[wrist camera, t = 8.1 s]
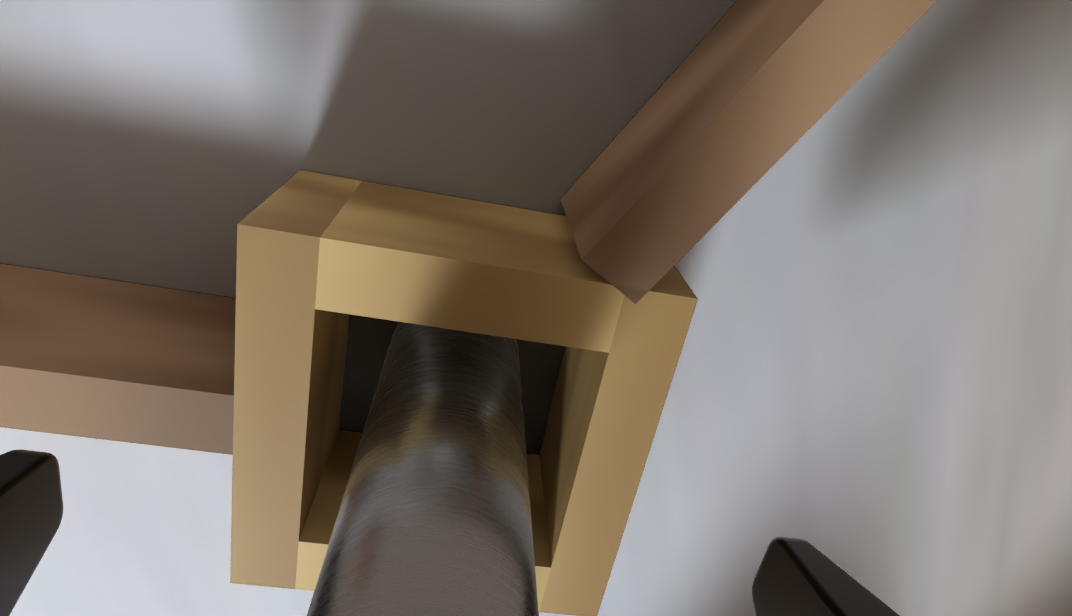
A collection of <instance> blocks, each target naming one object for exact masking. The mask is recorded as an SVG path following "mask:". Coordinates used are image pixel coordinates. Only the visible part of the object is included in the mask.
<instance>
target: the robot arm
mask: <svg viewBox="0 0 1072 616" xmlns="http://www.w3.org/2000/svg"><path fill="white" fill-rule="evenodd" d="M62 515H63V500H62V491H61V481H60V472H59V464H58V460H57V459H56V457H55V456H54V455H52V454H50V453H46V452H37V451H28V450H12V451H10V452H7V453H4V454H2V455H0V616H9V615H10V613H11V612H12V610H13V608H14V606H15V604H16V603H17V601H18V599H19V597H20V596H21V594H22V592H23V590H24V588H25V587H26V585H27V583H28V581H29V580H30V578H31V576H32V574H33V573H34V571H35V569H36V567H37V565H38V564H39V562H40V560H41V558H42V557H43V555H44V553H45V551H46V549H47V548H48V546H49V544H50V542H51V541H52V539H53V537H54V535H55V533H56V532H57V530H58V528H59V525H60V523H61V519H62ZM752 598H753V604H754V608H755V613H756V616H899V615H898V614H897V613H896V612H894V611H893V610H892V609H891V608H890V607H888V606H887V605H886V604H885V603H883V602H882V601H881V600H880V599H878V598H877V597H876V596H875V595H873V594H872V593H871V592H870V591H868V590H867V589H866V588H865V587H863V586H862V585H861V584H860V583H858V582H857V581H856V580H855V579H853V578H852V577H851V576H850V575H848V574H847V573H846V572H845V571H843V570H842V569H841V568H840V567H838V566H837V565H836V564H835V563H833V562H832V561H831V560H830V559H828V558H827V557H826V556H825V555H823V554H822V553H821V552H820V551H818V550H817V549H816V548H815V547H813V546H812V545H811V544H810V543H808V542H807V541H805V540H802V539H794V538H786V537H777V538H775V539H773V540H772V541H771V542H770V544H769V546H768V548H767V551H766V553H765V555H764V558H763V560H762V562H761V565H760V567H759V569H758V572H757V574H756V576H755V578H754V582H753V586H752Z"/></svg>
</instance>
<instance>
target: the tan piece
mask: <svg viewBox="0 0 1072 616" xmlns="http://www.w3.org/2000/svg"><path fill="white" fill-rule="evenodd" d="M936 1H937V0H738V1H737V2H736V3H735V4H734V5H733V6H732V7H731V8H730V10H729V11H728V12H727V13H726V14H725V15H724V16H723V17H722V19H721V20H720V21H719V22H718V23H717V24H716V25H715V26H714V27H713V29H712V30H711V31H710V32H709V33H708V34H707V35H706V36H705V38H704V39H703V40H702V41H701V42H700V43H699V44H698V45H697V47H696V48H695V49H694V50H693V51H692V52H691V53H690V54H689V56H688V57H687V58H686V59H685V60H684V61H683V62H682V63H681V64H680V66H679V67H678V68H677V69H676V70H675V71H674V72H673V73H672V75H671V76H670V77H669V78H668V79H667V80H666V81H665V82H664V84H663V85H662V86H661V87H660V88H659V89H658V90H657V91H656V93H655V94H654V95H653V96H652V97H651V98H650V99H649V100H648V101H647V103H646V104H645V105H644V106H643V107H642V108H641V109H640V110H639V112H638V113H637V114H636V115H635V116H634V117H633V118H632V119H631V121H630V122H629V123H628V124H627V125H626V126H625V127H624V128H623V129H622V131H621V132H620V133H619V134H618V135H617V136H616V137H615V138H614V140H613V141H612V142H611V143H610V144H609V145H608V146H607V147H606V149H605V150H604V151H603V152H602V153H601V154H600V155H599V156H598V158H597V159H596V160H595V161H594V162H593V163H592V164H591V165H590V166H589V168H588V169H587V170H586V171H585V172H584V173H583V174H582V175H581V177H580V178H579V179H578V180H577V181H576V182H575V183H574V184H573V186H572V187H571V188H570V189H569V190H568V191H567V192H566V193H565V195H564V196H563V197H562V198H561V199H560V200H561V203H562V206H563V208H564V211H565V214H566V216H561V215H556V214H550V213H544V212H539V211H533V210H527V209H521V208H516V207H510V206H504V205H499V204H493V203H487V202H481V201H476V200H470V199H464V198H458V197H453V196H447V195H441V194H436V193H430V192H424V191H418V190H413V189H407V188H401V187H396V186H390V185H384V184H378V183H373V182H367V181H361V180H355V179H350V178H344V177H338V176H333V175H327V174H321V173H315V172H310V171H304V170H300V171H299V172H297V173H296V174H295V175H294V176H293V177H292V178H290V179H289V180H288V181H287V182H286V183H285V184H283V185H282V186H281V187H280V188H279V189H278V190H276V191H275V192H274V193H273V194H272V195H271V196H269V197H268V198H267V199H266V200H265V201H264V202H262V203H261V204H260V205H259V206H258V207H257V208H255V209H254V210H253V211H252V212H251V213H250V214H248V215H247V216H246V217H245V218H244V219H243V220H241V221H240V222H239V223H238V224H237V263H236V298H229V297H222V296H216V295H209V294H202V293H195V292H189V291H182V290H175V289H168V288H162V287H155V286H148V285H141V284H135V283H128V282H121V281H114V280H108V279H101V278H94V277H87V276H81V275H74V274H67V273H60V272H54V271H47V270H40V269H33V268H27V267H20V266H13V265H6V264H0V427H4V428H12V429H21V430H29V431H38V432H46V433H54V434H63V435H71V436H80V437H88V438H97V439H105V440H113V441H122V442H130V443H139V444H147V445H156V446H164V447H173V448H181V449H189V450H198V451H206V452H215V453H223V454H232V455H233V474H232V527H231V580H230V583H237V584H247V585H258V586H269V587H279V588H290V589H300V590H311V591H315V588H316V584H317V581H318V578H319V574H320V571H321V568H322V565H323V561H324V558H325V555H326V551H327V548H328V545H329V542H330V538H331V535H332V532H333V528H334V525H335V522H336V518H337V515H338V512H339V509H340V505H341V502H342V499H343V495H344V492H345V489H346V486H347V482H348V479H349V476H350V472H351V469H352V466H353V463H354V459H355V456H356V453H357V449H358V446H359V443H360V439H361V436H362V433H360V432H352V431H344V430H339V423H340V413H341V402H342V391H343V380H344V370H345V359H346V348H347V338H348V327H349V316H350V314H351V315H358V316H364V317H371V318H378V319H385V320H391V321H398V322H405V323H412V324H418V325H425V326H432V327H439V328H445V329H452V330H459V331H465V332H472V333H479V334H486V335H492V336H499V337H506V338H513V339H519V340H526V341H533V342H540V343H546V344H553V345H560V346H565V350H564V354H563V358H562V362H561V367H560V371H559V375H558V379H557V383H556V388H555V392H554V396H553V400H552V404H551V408H550V413H549V417H548V421H547V425H546V429H545V433H544V438H543V442H542V446H541V450H540V454H539V455H534V454H527V468H528V481H529V494H530V507H531V521H532V534H533V547H534V560H535V573H536V587H537V600H538V612H544V613H555V614H566V615H576V616H597V614H598V611H599V608H600V605H601V602H602V599H603V596H604V592H605V589H606V586H607V583H608V580H609V577H610V574H611V570H612V567H613V564H614V561H615V558H616V555H617V551H618V548H619V545H620V542H621V539H622V536H623V533H624V529H625V526H626V523H627V520H628V517H629V514H630V511H631V507H632V504H633V501H634V498H635V495H636V492H637V488H638V485H639V482H640V479H641V476H642V473H643V470H644V466H645V463H646V460H647V457H648V454H649V451H650V448H651V444H652V441H653V438H654V435H655V432H656V429H657V426H658V422H659V419H660V416H661V413H662V410H663V407H664V403H665V400H666V397H667V394H668V391H669V388H670V385H671V381H672V378H673V375H674V372H675V369H676V366H677V363H678V359H679V356H680V353H681V350H682V347H683V344H684V340H685V337H686V334H687V331H688V328H689V325H690V322H691V318H692V315H693V312H694V309H695V306H696V303H697V300H698V299H697V297H696V296H695V294H694V293H693V291H692V290H691V289H690V287H689V286H688V284H687V283H686V281H685V280H684V279H683V277H682V276H681V274H680V273H679V271H678V270H677V269H676V267H675V266H674V265H675V264H676V263H677V262H678V261H679V260H680V259H681V258H682V257H683V256H684V255H685V254H686V253H687V252H688V251H689V250H690V249H691V248H692V247H693V246H694V245H695V244H696V243H697V242H698V241H699V240H700V239H701V238H702V237H703V236H704V235H705V234H706V233H707V232H708V231H709V230H710V229H711V228H712V227H713V226H714V225H715V224H716V223H717V222H718V221H719V220H720V219H721V218H722V217H723V216H724V215H725V214H726V213H727V212H728V211H729V210H730V209H731V208H732V207H733V206H734V205H735V204H736V203H737V202H738V201H739V200H740V199H741V198H742V197H743V196H744V195H745V193H746V192H747V191H748V190H749V189H750V188H751V187H752V186H753V185H754V184H755V183H756V182H757V181H758V180H759V179H760V178H761V177H762V176H763V175H764V174H765V173H766V172H767V171H768V170H769V169H770V168H771V167H772V166H773V165H774V164H775V163H776V162H777V161H778V160H779V159H780V158H781V157H782V156H783V155H784V154H785V153H786V152H787V151H788V150H789V149H790V148H791V147H792V146H793V145H794V144H795V143H796V142H797V141H798V140H799V139H800V138H801V137H802V136H803V135H804V134H805V133H806V132H807V131H808V130H809V129H810V128H811V127H812V126H813V125H814V124H815V123H816V122H817V121H818V120H819V119H820V118H821V117H822V116H823V115H824V114H825V113H826V112H827V111H828V110H829V109H830V108H831V107H832V106H833V105H834V104H835V103H836V102H837V101H838V100H839V99H840V98H841V97H842V96H843V95H844V94H845V93H846V91H847V90H848V89H849V88H850V87H851V86H852V85H853V84H854V83H855V82H856V81H857V80H858V79H859V78H860V77H861V76H862V75H863V74H864V73H865V72H866V71H867V70H868V69H869V68H870V67H871V66H872V65H873V64H874V63H875V62H876V61H877V60H878V59H879V58H880V57H881V56H882V55H883V54H884V53H885V52H886V51H887V50H888V49H889V48H890V47H891V46H892V45H893V44H894V43H895V42H896V41H897V40H898V39H899V38H900V37H901V36H902V35H903V34H904V33H905V32H906V31H907V30H908V29H909V28H910V27H911V26H912V25H913V24H914V23H915V22H916V21H917V20H918V19H919V18H920V17H921V16H922V15H923V14H924V13H925V12H926V11H927V10H928V9H929V8H930V7H931V6H932V5H933V4H934V3H935V2H936Z"/></svg>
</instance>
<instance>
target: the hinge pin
mask: <svg viewBox="0 0 1072 616" xmlns="http://www.w3.org/2000/svg"><path fill="white" fill-rule="evenodd" d="M307 616H539V613H538V600H537V587H536V573H535V560H534V547H533V534H532V521H531V507H530V494H529V481H528V468H527V454H526V441H525V428H524V415H523V402H522V388H521V375H520V362H519V349H518V342H517V339H513V338H506V337H499V336H492V335H486V334H479V333H472V332H465V331H459V330H452V329H445V328H439V327H432V326H425V325H418V324H412V323H405V322H398V324H397V326H396V327H395V329H394V332H393V335H392V337H391V341H390V344H389V347H388V351H387V354H386V357H385V360H384V364H383V367H382V370H381V374H380V377H379V380H378V384H377V387H376V390H375V393H374V397H373V400H372V403H371V407H370V410H369V413H368V416H367V420H366V423H365V426H364V430H363V433H362V436H361V439H360V443H359V446H358V449H357V453H356V456H355V459H354V463H353V466H352V469H351V472H350V476H349V479H348V482H347V486H346V489H345V492H344V495H343V499H342V502H341V505H340V509H339V512H338V515H337V518H336V522H335V525H334V528H333V532H332V535H331V538H330V542H329V545H328V548H327V551H326V555H325V558H324V561H323V565H322V568H321V571H320V574H319V578H318V581H317V584H316V588H315V591H314V594H313V597H312V601H311V604H310V607H309V611H308V614H307Z"/></svg>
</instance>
